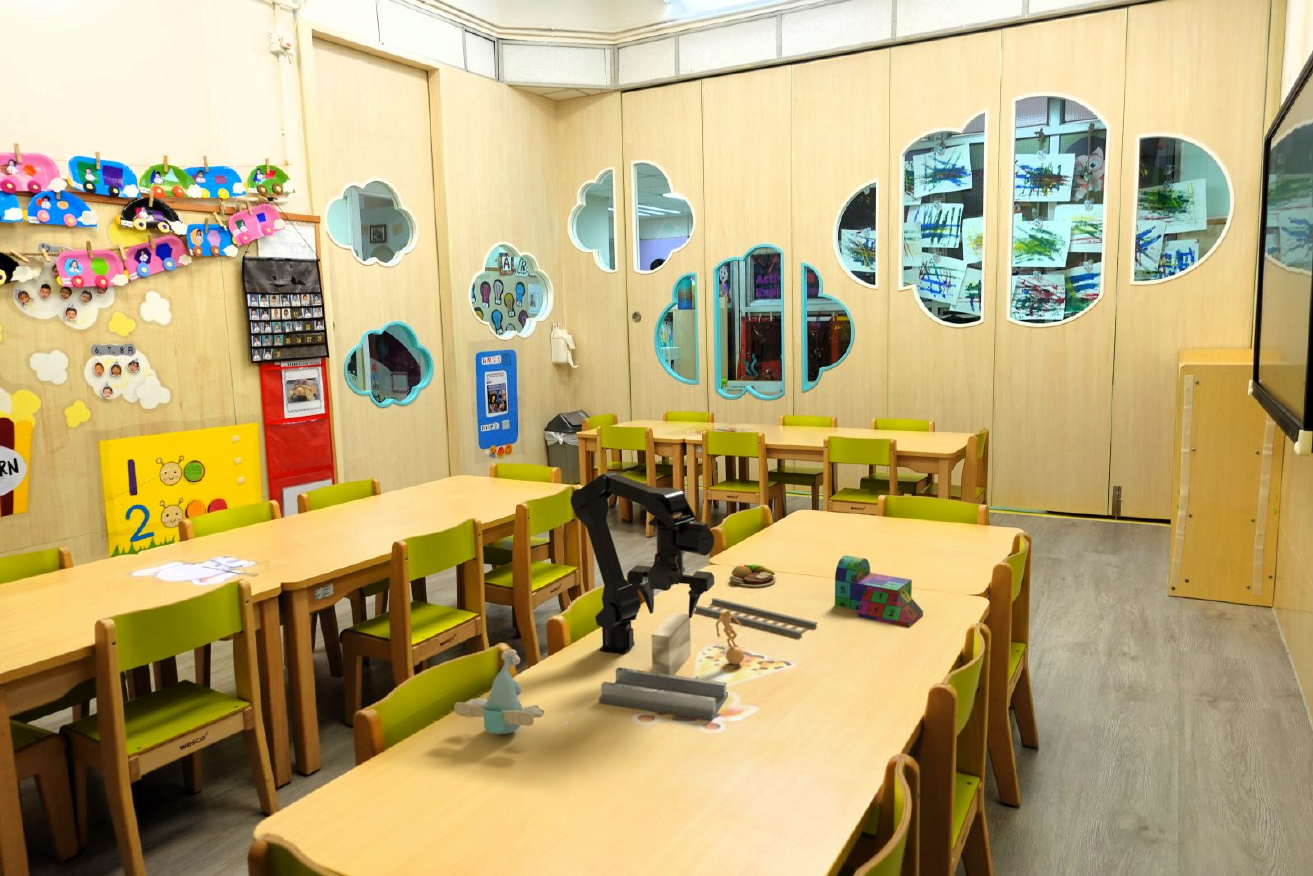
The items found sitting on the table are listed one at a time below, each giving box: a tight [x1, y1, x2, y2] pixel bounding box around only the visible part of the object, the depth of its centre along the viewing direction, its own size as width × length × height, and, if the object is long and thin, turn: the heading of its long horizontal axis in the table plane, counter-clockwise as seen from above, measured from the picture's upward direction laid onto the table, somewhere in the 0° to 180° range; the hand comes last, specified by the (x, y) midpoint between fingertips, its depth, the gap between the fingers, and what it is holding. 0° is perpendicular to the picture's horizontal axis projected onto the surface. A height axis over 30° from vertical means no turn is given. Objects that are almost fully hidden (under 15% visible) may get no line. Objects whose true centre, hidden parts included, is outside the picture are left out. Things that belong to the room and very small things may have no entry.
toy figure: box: [453, 648, 545, 735], centre depth 164 cm, size 17×10×15 cm, turn 71°
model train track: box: [694, 597, 818, 640], centre depth 221 cm, size 11×31×2 cm, turn 51°
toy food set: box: [730, 564, 777, 594], centre depth 251 cm, size 20×14×4 cm
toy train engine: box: [834, 554, 924, 628], centre depth 225 cm, size 22×15×12 cm
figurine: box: [715, 610, 745, 666], centre depth 193 cm, size 8×6×12 cm
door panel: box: [651, 612, 692, 675], centre depth 192 cm, size 4×14×10 cm, turn 159°
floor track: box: [598, 667, 729, 721], centre depth 177 cm, size 24×11×4 cm, turn 69°
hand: (670, 615), depth 191 cm, fingers open, 9 cm apart
